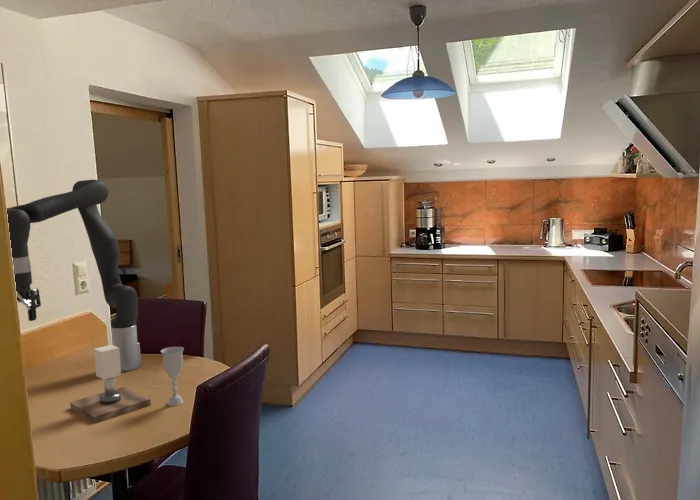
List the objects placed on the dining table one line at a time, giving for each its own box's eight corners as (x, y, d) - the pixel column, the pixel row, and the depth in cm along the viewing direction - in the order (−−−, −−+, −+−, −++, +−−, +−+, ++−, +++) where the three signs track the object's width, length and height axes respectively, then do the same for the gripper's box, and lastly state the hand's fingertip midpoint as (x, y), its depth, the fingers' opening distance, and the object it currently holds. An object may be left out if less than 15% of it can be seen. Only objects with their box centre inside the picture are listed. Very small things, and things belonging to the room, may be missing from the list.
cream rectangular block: (113, 371, 178) (111, 344, 177) (121, 374, 175) (119, 347, 174) (96, 375, 174) (94, 348, 173) (103, 379, 171) (101, 351, 170)
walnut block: (124, 392, 188) (124, 386, 188) (150, 404, 176) (150, 398, 176) (70, 408, 175) (70, 402, 175) (94, 423, 163) (94, 416, 163)
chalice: (165, 408, 173) (162, 354, 171) (162, 401, 179) (159, 348, 177) (188, 404, 176) (185, 350, 174) (184, 397, 182) (182, 345, 180)
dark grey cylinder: (115, 395, 180) (113, 366, 179) (124, 400, 176) (122, 370, 175) (96, 401, 175) (93, 371, 174) (105, 406, 171) (102, 375, 170)
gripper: (44, 269, 176) (48, 318, 178) (11, 268, 180) (16, 316, 182) (23, 273, 169) (29, 324, 171) (-10, 272, 173) (-5, 321, 175)
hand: (22, 319), depth 176 cm, fingers open, 8 cm apart
